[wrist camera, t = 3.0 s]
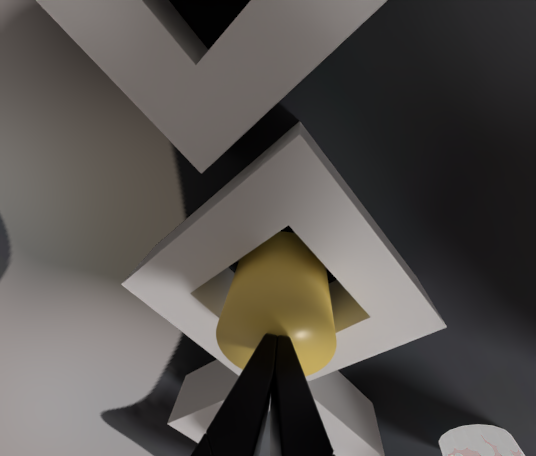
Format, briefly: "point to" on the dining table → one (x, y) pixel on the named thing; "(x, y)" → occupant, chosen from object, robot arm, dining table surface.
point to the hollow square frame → (311, 233)
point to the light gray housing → (221, 382)
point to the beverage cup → (479, 442)
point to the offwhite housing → (208, 60)
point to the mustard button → (279, 304)
